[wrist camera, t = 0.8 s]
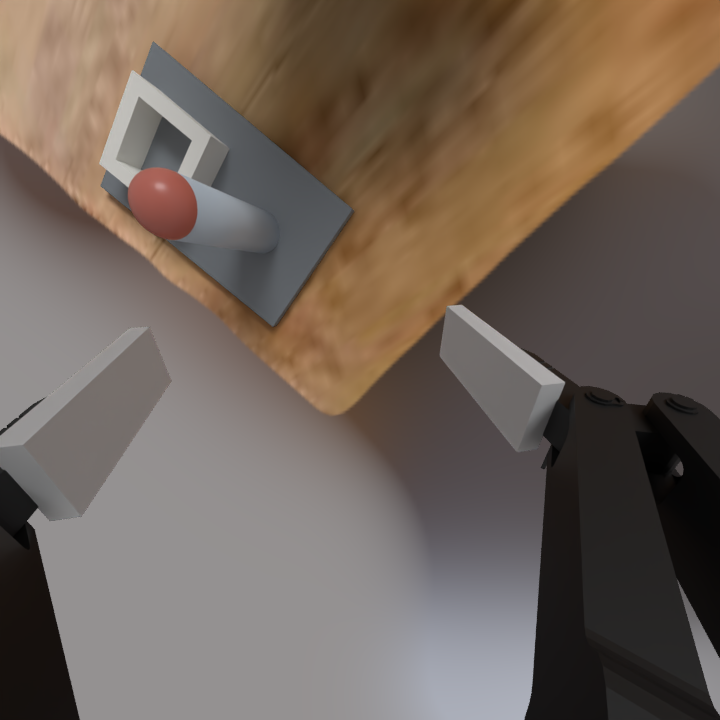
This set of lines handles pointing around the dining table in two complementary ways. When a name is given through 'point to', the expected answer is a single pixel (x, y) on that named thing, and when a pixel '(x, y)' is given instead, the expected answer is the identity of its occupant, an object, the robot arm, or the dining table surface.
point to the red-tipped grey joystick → (199, 213)
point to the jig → (224, 180)
